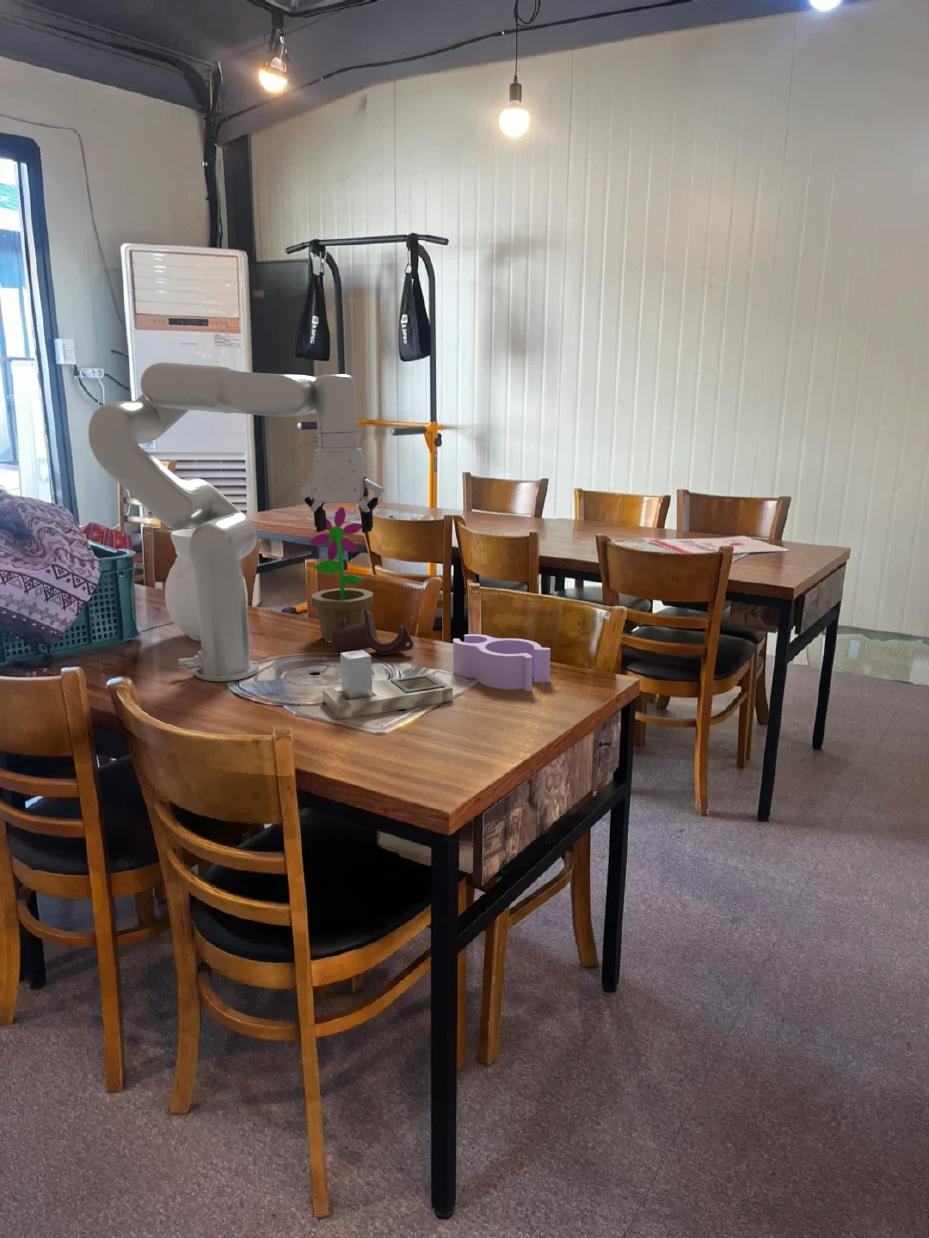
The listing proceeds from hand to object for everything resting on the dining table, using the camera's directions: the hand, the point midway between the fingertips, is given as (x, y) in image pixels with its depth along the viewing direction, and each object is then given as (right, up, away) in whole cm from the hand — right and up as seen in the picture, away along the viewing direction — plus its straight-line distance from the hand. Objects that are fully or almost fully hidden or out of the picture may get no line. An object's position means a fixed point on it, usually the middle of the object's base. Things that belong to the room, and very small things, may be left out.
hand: (344, 531), depth 177 cm
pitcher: (-36, -21, +38) cm, 57 cm away
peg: (+4, -33, -9) cm, 35 cm away
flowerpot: (-5, -22, +36) cm, 42 cm away
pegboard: (+9, -32, -7) cm, 34 cm away
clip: (+30, -29, +7) cm, 43 cm away
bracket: (+3, -25, +24) cm, 35 cm away
